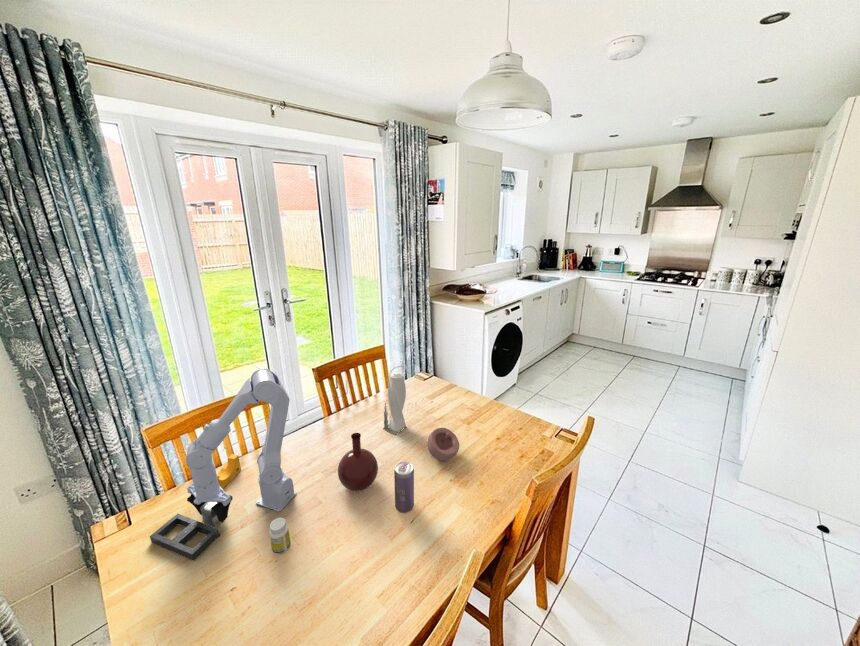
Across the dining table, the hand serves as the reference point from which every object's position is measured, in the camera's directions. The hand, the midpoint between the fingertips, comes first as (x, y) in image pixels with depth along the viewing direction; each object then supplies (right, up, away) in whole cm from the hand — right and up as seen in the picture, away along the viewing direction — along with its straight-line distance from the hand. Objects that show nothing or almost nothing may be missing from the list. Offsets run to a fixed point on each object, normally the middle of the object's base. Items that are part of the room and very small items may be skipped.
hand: (214, 516), depth 103 cm
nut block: (0, -1, 0) cm, 2 cm away
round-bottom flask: (+41, +2, +14) cm, 43 cm away
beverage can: (+57, 0, +6) cm, 57 cm away
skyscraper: (+51, +13, +45) cm, 69 cm away
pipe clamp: (-6, +3, +15) cm, 17 cm away
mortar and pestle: (+70, +7, +28) cm, 76 cm away
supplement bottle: (+24, -5, -7) cm, 25 cm away
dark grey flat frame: (-4, -3, -6) cm, 8 cm away
